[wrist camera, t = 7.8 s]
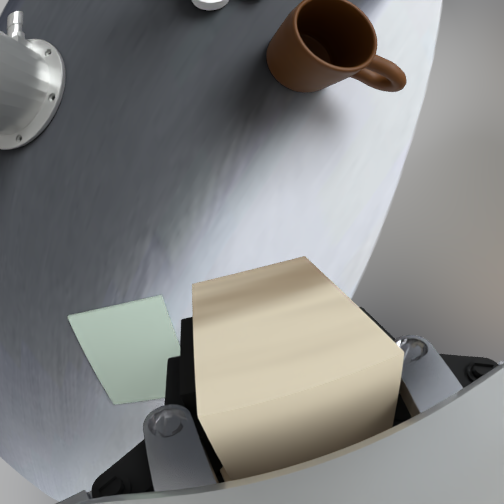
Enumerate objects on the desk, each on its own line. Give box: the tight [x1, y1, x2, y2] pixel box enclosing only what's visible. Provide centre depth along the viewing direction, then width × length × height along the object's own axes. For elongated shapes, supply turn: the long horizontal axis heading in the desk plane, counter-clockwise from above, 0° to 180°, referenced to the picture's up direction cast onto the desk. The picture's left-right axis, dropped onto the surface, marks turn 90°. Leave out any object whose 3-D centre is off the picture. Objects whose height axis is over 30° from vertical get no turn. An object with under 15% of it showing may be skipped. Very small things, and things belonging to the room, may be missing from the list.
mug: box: [266, 0, 406, 92], centre depth 23 cm, size 12×8×9 cm, turn 67°
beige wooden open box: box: [192, 256, 404, 482], centre depth 10 cm, size 15×9×6 cm, turn 11°
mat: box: [68, 295, 180, 405], centre depth 33 cm, size 14×12×1 cm
